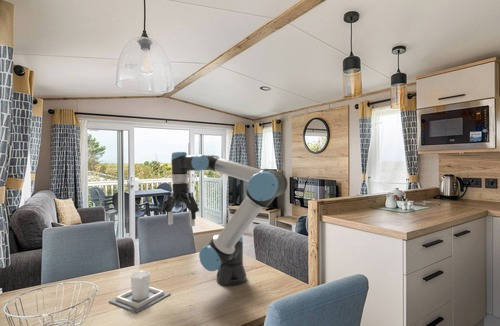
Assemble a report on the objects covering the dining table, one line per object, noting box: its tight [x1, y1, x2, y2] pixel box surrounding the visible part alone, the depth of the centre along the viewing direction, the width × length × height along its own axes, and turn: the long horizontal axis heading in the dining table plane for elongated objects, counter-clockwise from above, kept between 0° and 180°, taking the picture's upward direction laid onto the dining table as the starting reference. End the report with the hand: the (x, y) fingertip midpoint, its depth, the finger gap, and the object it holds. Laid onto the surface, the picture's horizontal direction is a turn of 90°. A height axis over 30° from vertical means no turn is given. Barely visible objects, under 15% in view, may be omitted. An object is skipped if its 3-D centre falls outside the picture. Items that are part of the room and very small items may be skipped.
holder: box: [108, 286, 172, 314], centre depth 123 cm, size 18×18×2 cm
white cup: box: [130, 270, 151, 300], centre depth 123 cm, size 8×8×10 cm
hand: (181, 225), depth 140 cm, fingers open, 13 cm apart
